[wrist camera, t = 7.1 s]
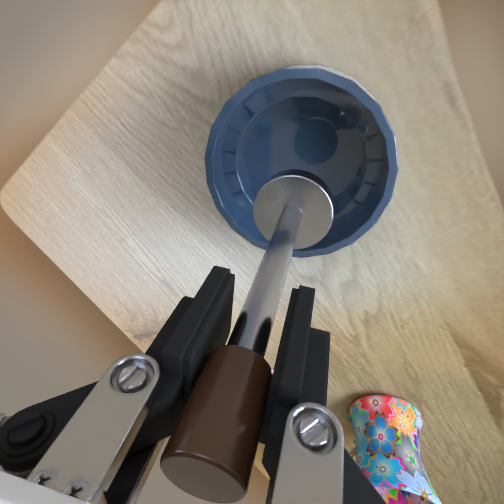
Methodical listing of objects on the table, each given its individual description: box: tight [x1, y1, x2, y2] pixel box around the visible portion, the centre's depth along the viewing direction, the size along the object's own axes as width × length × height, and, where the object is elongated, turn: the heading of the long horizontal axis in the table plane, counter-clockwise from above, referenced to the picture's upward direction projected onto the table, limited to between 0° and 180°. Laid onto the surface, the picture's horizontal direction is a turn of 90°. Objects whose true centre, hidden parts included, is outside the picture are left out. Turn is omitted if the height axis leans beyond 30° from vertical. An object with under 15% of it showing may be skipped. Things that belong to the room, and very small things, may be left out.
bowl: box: [205, 65, 399, 258], centre depth 24 cm, size 13×13×5 cm
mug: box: [348, 395, 442, 504], centre depth 37 cm, size 12×9×11 cm
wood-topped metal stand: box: [160, 169, 334, 504], centre depth 13 cm, size 5×5×15 cm
